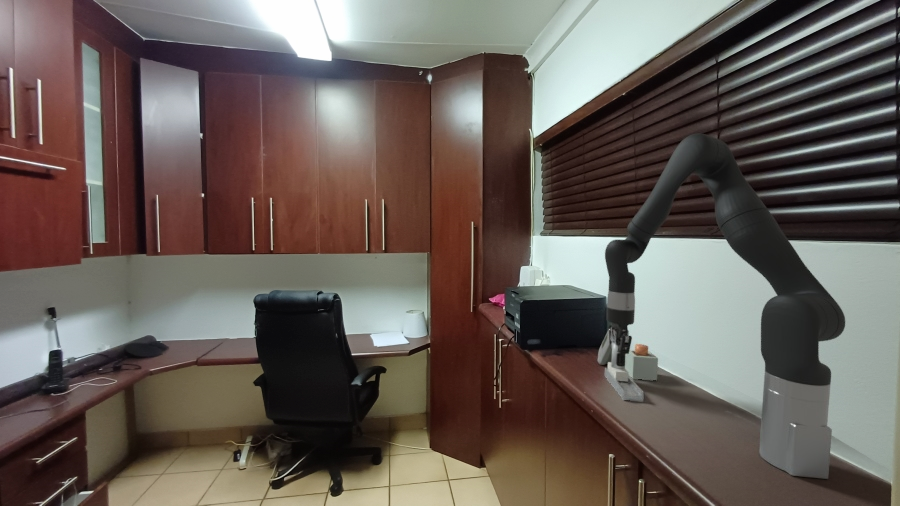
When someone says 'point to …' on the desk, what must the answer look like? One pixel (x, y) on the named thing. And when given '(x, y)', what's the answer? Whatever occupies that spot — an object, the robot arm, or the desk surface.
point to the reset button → (641, 350)
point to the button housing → (641, 366)
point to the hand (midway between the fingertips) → (617, 363)
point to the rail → (625, 388)
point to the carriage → (617, 367)
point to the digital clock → (605, 351)
